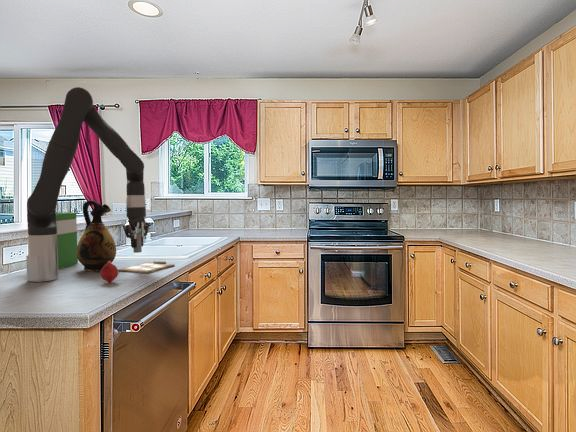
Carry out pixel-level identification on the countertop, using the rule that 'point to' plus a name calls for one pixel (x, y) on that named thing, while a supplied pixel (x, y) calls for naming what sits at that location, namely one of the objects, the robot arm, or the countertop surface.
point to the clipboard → (147, 267)
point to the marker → (138, 242)
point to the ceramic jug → (95, 239)
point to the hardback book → (66, 239)
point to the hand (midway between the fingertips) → (137, 246)
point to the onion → (109, 272)
